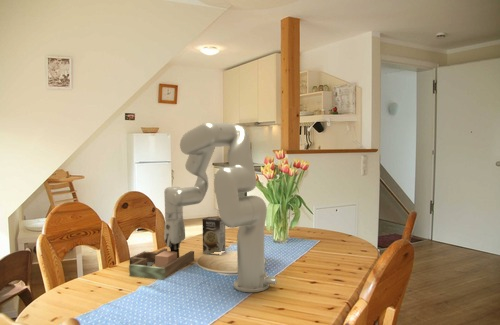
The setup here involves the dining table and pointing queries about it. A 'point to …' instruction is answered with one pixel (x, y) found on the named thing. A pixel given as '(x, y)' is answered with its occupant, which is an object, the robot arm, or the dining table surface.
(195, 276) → the dining table surface
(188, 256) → the channel
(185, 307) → the dining table surface
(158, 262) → the block
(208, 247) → the coffee box
